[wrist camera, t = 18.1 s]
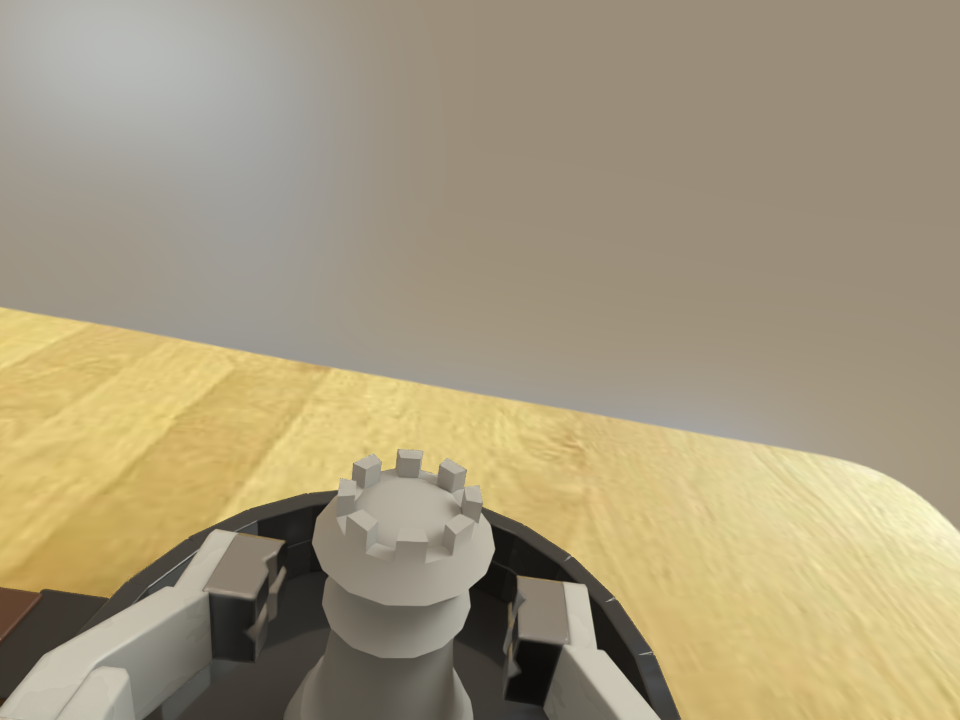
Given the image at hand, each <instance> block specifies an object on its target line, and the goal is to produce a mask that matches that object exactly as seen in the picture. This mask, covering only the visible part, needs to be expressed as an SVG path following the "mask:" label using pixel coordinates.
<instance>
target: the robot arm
mask: <svg viewBox="0 0 960 720" xmlns="http://www.w3.org/2000/svg"><path fill="white" fill-rule="evenodd" d="M287 555H288V543H287V542H286V541H284V540H278V539H273V538H267V537H261V536H256V535H250V534H244V533H235V532H230V531H224V530H219V529H215V530H214V531H212V532H211V533H210V534H209V535H208V537H207V538H206V540H205V541H204V543H203V544H202V546H201V547H200V548H199V550H198V551H197V553H196V554H195V556H194V557H193V559H192V560H191V562H190V563H189V565H188V566H187V568H186V569H185V571H184V572H183V574H182V575H181V577H180V578H179V580H178V581H177V583H176V584H175V586H174V587H169V586H166V587H164V588H162V589H161V590H159V591H157V592H155V593H153V594H152V595H150V596H148V597H146V598H144V599H143V600H141V601H139V602H137V603H135V604H134V605H132V606H130V607H128V608H126V609H125V610H123V611H121V612H119V613H118V614H116V615H114V616H112V617H110V618H109V619H107V620H105V621H103V622H101V623H100V624H98V625H96V626H94V627H92V628H91V629H89V630H87V631H85V632H83V633H82V634H80V635H78V636H76V637H75V638H73V639H71V640H69V641H67V642H66V643H64V644H62V645H60V646H58V647H57V648H55V649H53V650H51V651H49V652H48V653H46V654H44V655H43V656H42V657H41V659H40V660H39V661H38V662H37V663H36V665H35V666H34V667H33V668H32V670H31V671H30V672H29V673H28V674H27V676H26V677H25V678H24V679H23V681H22V682H21V683H20V684H19V685H18V687H17V688H16V689H15V690H14V691H13V693H12V694H11V695H10V696H9V698H8V699H7V700H6V701H5V702H4V704H3V705H2V706H1V707H0V720H143V719H144V718H145V717H147V716H148V715H149V714H150V713H151V712H153V711H154V710H155V709H156V708H157V707H159V706H160V705H161V704H162V703H163V702H165V701H166V700H167V699H168V698H169V697H171V696H172V695H173V694H174V693H175V692H177V691H178V690H179V689H180V688H181V687H183V686H184V685H185V684H186V683H187V682H189V681H190V680H191V679H192V678H193V677H195V676H196V675H197V674H198V673H199V672H201V671H202V670H203V669H204V668H205V667H207V666H208V665H209V664H210V663H211V662H212V659H217V660H226V661H234V662H243V663H252V664H256V662H257V660H258V658H259V655H260V653H261V651H262V648H263V646H264V644H265V642H266V639H267V637H268V622H270V621H271V620H273V619H274V618H276V617H277V614H278V612H279V609H280V607H281V604H282V601H283V597H284V594H285V590H286V583H287V570H286V568H285V567H284V566H283V564H284V562H285V560H286V557H287ZM503 651H504V653H505V654H506V658H505V662H504V666H503V700H507V701H513V702H519V703H525V704H530V705H536V706H542V707H544V708H543V709H544V711H545V713H546V715H547V717H548V718H549V720H661V719H660V718H659V717H658V716H657V714H656V713H655V712H654V711H653V709H652V708H651V707H650V706H649V705H648V703H647V702H646V701H645V700H644V698H643V697H642V696H641V695H640V694H639V692H638V691H637V690H636V689H635V688H634V686H633V685H632V684H631V683H630V681H629V680H628V679H627V678H626V677H625V675H624V674H623V673H622V672H621V671H620V669H619V668H618V667H617V666H616V664H615V663H614V662H613V661H612V660H611V658H610V657H609V656H608V655H607V653H606V652H605V651H603V650H597V644H596V638H595V632H594V626H593V620H592V614H591V608H590V602H589V596H588V589H587V587H586V586H585V584H577V583H570V582H563V581H562V582H560V581H555V580H548V579H541V578H534V577H526V576H519V575H516V576H515V579H514V582H513V586H512V601H511V602H510V603H508V607H507V611H506V616H505V623H504V631H503Z"/></svg>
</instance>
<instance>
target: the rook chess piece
mask: <svg viewBox="0 0 960 720" xmlns="http://www.w3.org/2000/svg"><path fill="white" fill-rule="evenodd" d="M422 457H423V451H421V450H405V449H398V451H397V460H396V469H390V470H385V471H381V462H382V461H381V460H380V459H379V458H378V457H377V456H376V455H375V454H374V453H373V454H371V455H369V456H367V457H365V458H363V459H361V460H359V461H357V462H355V463H353V472H352V480H347V479H341V478H340V483H339V490H338V495H336V496H335V497H334V498H333V499H332V500H331V501H330V503H329V504H328V505H327V506H326V507H325V509H324V510H323V511H322V512H321V513H320V515H319V516H318V517H317V519H316V524H315V530H314V535H313V540H312V545H313V547H314V550H315V552H316V555H317V557H318V560H319V562H320V565H321V567H322V570H323V571H325V572H326V573H327V574H328V575H329V577H328V578H327V580H326V581H325V587H324V594H323V601H322V606H323V608H324V611H325V614H326V616H327V619H328V622H329V624H330V627H331V632H330V635H329V639H328V643H327V647H326V650H325V654H324V655H323V656H322V657H321V658H320V660H319V661H318V663H317V665H316V666H315V667H314V668H313V669H311V670H310V671H309V672H308V673H307V675H306V677H305V678H304V680H303V681H302V683H301V685H300V686H299V688H298V689H297V691H296V693H295V694H294V696H293V697H292V699H291V701H290V702H289V704H288V706H287V708H286V711H285V713H284V717H283V720H473V711H472V706H471V700H470V698H469V697H468V695H467V693H466V691H465V689H464V687H463V685H462V684H461V681H460V679H459V677H458V675H457V673H456V671H455V669H454V668H453V639H454V636H455V635H456V634H457V633H458V632H459V631H461V630H462V628H463V626H464V623H465V620H466V618H467V615H468V612H469V610H470V607H471V605H470V597H469V588H470V587H471V586H473V585H474V584H475V583H476V582H477V581H478V580H479V579H481V578H482V577H483V576H484V575H485V574H486V573H487V570H488V567H489V564H490V562H491V559H492V556H493V554H494V551H495V546H494V541H493V535H492V530H491V525H490V524H489V522H488V521H487V520H486V518H485V517H484V516H483V514H482V513H481V510H482V505H483V502H482V496H481V491H480V485H479V486H466V487H464V483H465V477H466V472H467V470H466V469H465V468H463V467H462V466H460V465H458V464H457V463H455V462H453V461H452V460H450V459H449V458H446V459H445V460H444V461H443V462H442V463H441V464H440V466H439V472H438V475H436V474H433V473H429V472H426V471H423V470H421V464H422Z"/></svg>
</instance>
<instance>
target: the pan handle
mask: <svg viewBox="0 0 960 720" xmlns="http://www.w3.org/2000/svg"><path fill="white" fill-rule="evenodd" d="M108 600H109V599H108V598H104V597H97V596H90V595H84V594H77V593H70V592H63V591H56V590H49V589H43V590H42V591H41V592H40V593H37V592H30V591H23V590H16V589H9V588H2V587H0V707H1V706H2V705H3V704H4V702H5V701H6V700H7V699H8V698H9V696H10V695H11V694H12V693H13V691H14V690H15V689H16V688H17V687H18V685H19V684H20V683H21V682H22V681H23V679H24V678H25V677H26V676H27V674H28V673H29V672H30V671H31V670H32V668H33V667H34V666H35V665H36V663H37V662H38V661H39V660H40V659H41V657H42V656H43V655H44V654H46V653H48V652H49V651H51V650H53V649H55V648H57V647H58V646H60V645H62V644H64V643H66V642H67V641H69V640H71V639H72V638H73V637H74V636H75V635H76V634H77V633H78V632H79V631H80V629H81V628H82V627H83V626H84V625H85V624H86V623H87V622H88V621H89V620H90V619H91V618H92V617H93V616H94V615H95V614H96V613H97V612H98V611H99V610H100V608H101V607H102V606H103V605H104V604H105V603H106V602H107V601H108Z"/></svg>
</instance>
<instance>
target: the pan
mask: <svg viewBox="0 0 960 720" xmlns="http://www.w3.org/2000/svg"><path fill="white" fill-rule="evenodd" d="M336 495H338V490H334V491H324V492H314V493H309V494H307V493H305V494H302V495H298V496H294V497H291V498H287V499H283V500H280V501H276V502H272V503H269V504H265V505H262V506H258V507H254V508H251V509H249V510H245V511H243V512H241V513H239V514H237V515H235V516H233V517H230V518H228V519H226V520H224V521H222V522H220V523H218V524H215V525H213V526H211V527H209V528H207V529H205V530H203V531H200V532H198V533H196V534H194V535H192V536H190V537H189V538H188V539H186V540H184V541H183V542H181V543H180V544H178V545H177V546H176V547H174V548H173V549H171V550H170V551H169V552H167V553H166V554H164V555H163V556H162V557H160V558H159V559H157V560H156V561H155V562H153V563H152V564H150V565H149V566H147V567H146V568H145V569H143V570H142V571H140V572H139V573H138V574H136V575H135V576H133V577H132V578H131V579H130V580H129V581H127V582H125V583H124V584H123V585H122V586H121V587H120V589H119V590H118V591H117V592H116V593H115V594H114V595H113V596H112V597H111V598H110V599H109V600H108V601H107V602H106V603H105V604H104V605H103V606H102V607H101V608H100V610H99V611H98V612H97V613H96V614H95V615H94V616H93V617H92V618H91V619H90V620H89V621H88V622H87V623H86V624H85V625H84V626H83V627H82V628H81V629H80V631H79V632H78V633H77V634H76V635H75V636H74V637H73V638H75V637H76V636H78V635H80V634H82V633H83V632H85V631H87V630H89V629H91V628H92V627H94V626H96V625H98V624H100V623H101V622H103V621H105V620H107V619H109V618H110V617H112V616H114V615H116V614H118V613H119V612H121V611H123V610H125V609H126V608H128V607H130V606H132V605H134V604H135V603H137V602H139V601H141V600H143V599H144V598H146V597H148V596H150V595H152V594H153V593H155V592H157V591H159V590H161V589H162V588H164V587H166V586H169V587H174V586H175V584H176V583H177V581H178V580H179V578H180V577H181V575H182V574H183V572H184V571H185V569H186V568H187V566H188V565H189V563H190V562H191V560H192V559H193V557H194V556H195V554H196V553H197V551H198V550H199V548H200V547H201V546H202V544H203V543H204V541H205V540H206V538H207V537H208V535H209V534H210V533H211V532H212V531H214V530H215V529H219V530H224V531H230V532H235V533H244V534H250V535H256V536H261V537H267V538H273V539H278V540H284V541H286V542H287V543H288V555H287V557H286V560H285V562H284V564H283V566H284V567H285V568H286V570H287V583H286V590H285V594H284V597H283V601H282V604H281V607H280V609H279V612H278V614H277V617H276V618H274V619H273V620H271V621H270V622H268V637H267V639H266V642H265V644H264V646H263V648H262V651H261V653H260V655H259V658H258V660H257V662H256V664H252V663H243V662H234V661H226V660H217V659H212V662H211V663H210V664H209V665H208V666H207V667H205V668H204V669H203V670H202V671H201V672H199V673H198V674H197V675H196V676H195V677H193V678H192V679H191V680H190V681H189V682H187V683H186V684H185V685H184V686H183V687H181V688H180V689H179V690H178V691H177V692H175V693H174V694H173V695H172V696H171V697H169V698H168V699H167V700H166V701H165V702H163V703H162V704H161V705H160V706H159V707H157V708H156V709H155V710H154V711H153V712H151V713H150V714H149V715H148V716H147V717H145V718H144V719H143V720H283V717H284V713H285V711H286V708H287V706H288V704H289V702H290V701H291V699H292V697H293V696H294V694H295V693H296V691H297V689H298V688H299V686H300V685H301V683H302V681H303V680H304V678H305V677H306V675H307V673H308V672H309V671H310V670H311V669H313V668H314V667H315V666H316V665H317V663H318V661H319V660H320V658H321V657H322V656H323V655H324V654H325V650H326V647H327V643H328V639H329V635H330V632H331V627H330V624H329V622H328V619H327V616H326V614H325V611H324V608H323V606H322V601H323V594H324V587H325V581H326V580H327V578H328V577H329V575H328V574H327V573H326V572H325V571H323V570H322V567H321V565H320V562H319V560H318V557H317V555H316V552H315V550H314V547H313V545H312V540H313V535H314V530H315V524H316V519H317V517H318V516H319V515H320V513H321V512H322V511H323V510H324V509H325V507H326V506H327V505H328V504H329V503H330V501H331V500H332V499H333V498H334V497H335V496H336ZM481 513H482V514H483V516H484V517H485V518H486V520H487V521H488V522H489V524H490V525H491V530H492V535H493V541H494V546H495V551H494V554H493V556H492V559H491V562H490V564H489V567H488V570H487V573H486V574H485V575H484V576H483V577H482V578H481V579H479V580H478V581H477V582H476V583H475V584H474V585H473V586H471V587H470V588H469V597H470V605H471V607H470V610H469V612H468V615H467V618H466V620H465V623H464V626H463V628H462V630H461V631H459V632H458V633H457V634H456V635H455V636H454V639H453V668H454V669H455V671H456V673H457V675H458V677H459V679H460V681H461V684H462V685H463V687H464V689H465V691H466V693H467V695H468V697H469V698H470V700H471V706H472V711H473V720H549V718H548V717H547V715H546V713H545V711H544V709H543V708H544V707H542V706H536V705H530V704H525V703H519V702H513V701H507V700H503V666H504V662H505V658H506V654H505V653H504V651H503V631H504V623H505V616H506V611H507V607H508V603H510V602H511V601H512V586H513V582H514V579H515V576H516V575H519V576H526V577H534V578H541V579H548V580H555V581H560V582H562V581H563V582H570V583H577V584H585V586H586V587H587V589H588V596H589V602H590V608H591V614H592V620H593V626H594V632H595V638H596V644H597V650H603V651H605V652H606V653H607V655H608V656H609V657H610V658H611V660H612V661H613V662H614V663H615V664H616V666H617V667H618V668H619V669H620V671H621V672H622V673H623V674H624V675H625V677H626V678H627V679H628V680H629V681H630V683H631V684H632V685H633V686H634V688H635V689H636V690H637V691H638V692H639V694H640V695H641V696H642V697H643V698H644V700H645V701H646V702H647V703H648V705H649V706H650V707H651V708H652V709H653V711H654V712H655V713H656V714H657V716H658V717H659V718H660V719H661V720H681V718H680V715H679V713H678V710H677V708H676V705H675V703H674V700H673V698H672V695H671V693H670V691H669V688H668V686H667V683H666V681H665V678H664V676H663V673H662V671H661V668H660V666H659V664H658V661H657V659H656V656H655V655H653V651H652V649H651V648H650V646H649V645H648V644H647V642H646V641H645V639H644V638H643V636H642V635H641V633H640V632H639V630H638V629H637V628H636V626H635V625H634V623H633V622H632V620H631V619H630V617H629V616H628V614H627V613H626V612H625V610H624V609H623V607H622V606H621V604H620V603H619V601H618V600H616V599H615V597H614V596H613V595H612V594H611V593H610V592H609V591H608V590H607V589H606V588H605V587H604V586H603V585H602V584H601V583H600V582H599V581H598V580H597V579H596V578H595V577H594V576H593V575H592V574H591V573H590V572H589V571H588V570H586V569H585V568H584V567H583V566H582V565H581V564H580V563H579V562H578V561H577V560H576V559H575V558H574V557H572V556H571V555H570V554H569V553H567V552H566V551H564V550H563V549H561V548H559V547H558V546H556V545H555V544H553V543H552V542H550V541H549V540H547V539H546V538H544V537H543V536H541V535H540V534H538V533H537V532H535V531H533V530H532V529H530V528H529V527H527V526H524V525H523V524H522V523H519V522H517V521H515V520H512V519H510V518H508V517H505V516H503V515H501V514H498V513H496V512H493V511H491V510H489V509H486V508H484V507H482V510H481ZM73 638H72V639H73Z"/></svg>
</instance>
